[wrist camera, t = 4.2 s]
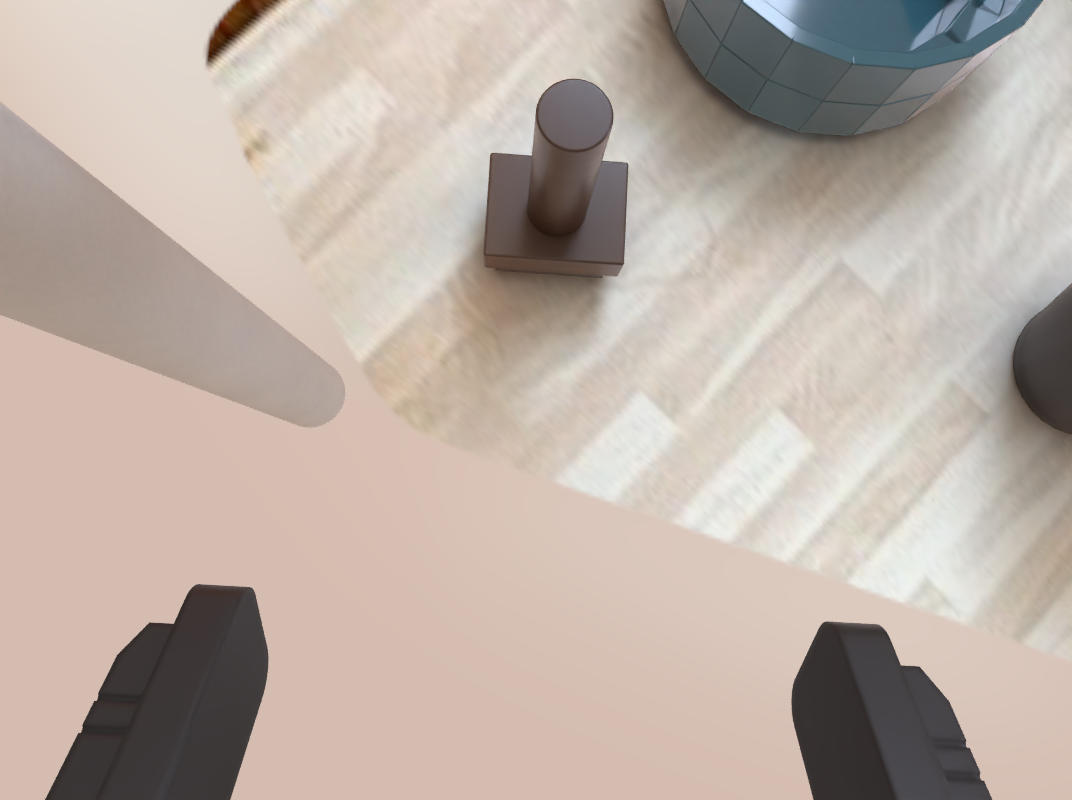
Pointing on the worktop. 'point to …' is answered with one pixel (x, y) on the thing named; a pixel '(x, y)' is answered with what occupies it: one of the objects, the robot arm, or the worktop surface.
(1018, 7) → the bowl
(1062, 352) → the mug
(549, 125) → the brown stamp
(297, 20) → the worktop surface
